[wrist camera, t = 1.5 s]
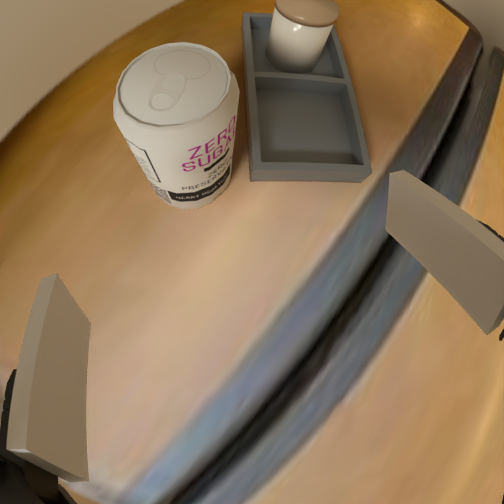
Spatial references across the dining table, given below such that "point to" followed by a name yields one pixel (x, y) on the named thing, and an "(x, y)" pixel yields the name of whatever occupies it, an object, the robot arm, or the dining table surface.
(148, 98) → the supplement can
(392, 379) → the dining table surface
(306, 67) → the jar
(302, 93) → the divided grey tray
